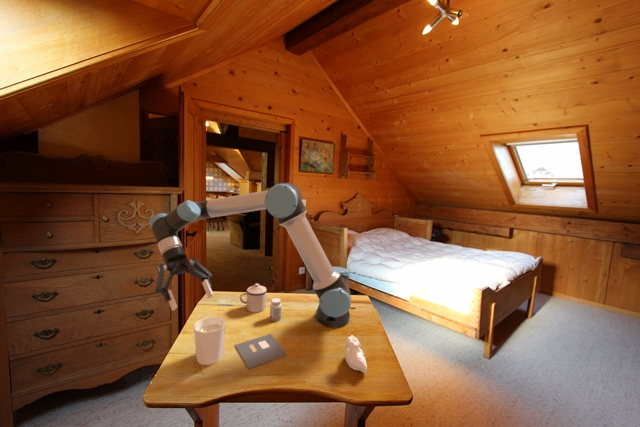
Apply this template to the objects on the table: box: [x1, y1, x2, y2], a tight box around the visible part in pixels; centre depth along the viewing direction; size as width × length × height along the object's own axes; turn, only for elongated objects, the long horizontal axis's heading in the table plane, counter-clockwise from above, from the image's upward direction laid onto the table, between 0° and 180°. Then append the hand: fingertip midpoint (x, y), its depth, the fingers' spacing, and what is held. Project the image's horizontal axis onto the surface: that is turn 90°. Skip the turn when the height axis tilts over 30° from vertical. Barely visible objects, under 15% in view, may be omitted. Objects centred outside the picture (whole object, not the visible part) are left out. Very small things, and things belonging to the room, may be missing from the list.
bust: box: [344, 334, 368, 374], centre depth 94 cm, size 12×8×11 cm
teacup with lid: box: [239, 283, 268, 313], centre depth 128 cm, size 12×9×12 cm
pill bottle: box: [269, 297, 282, 322], centre depth 121 cm, size 5×5×8 cm
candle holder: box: [193, 316, 226, 366], centre depth 94 cm, size 10×10×12 cm
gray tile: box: [234, 333, 289, 370], centre depth 100 cm, size 14×14×1 cm
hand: (194, 302), depth 99 cm, fingers open, 13 cm apart
